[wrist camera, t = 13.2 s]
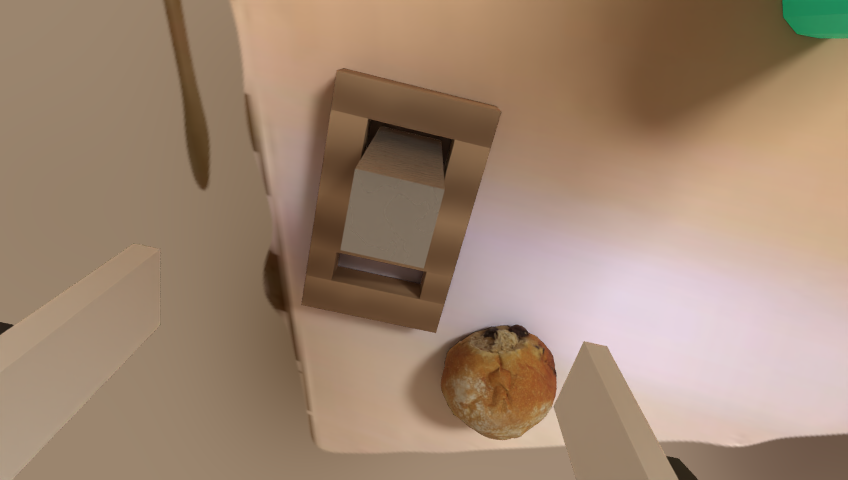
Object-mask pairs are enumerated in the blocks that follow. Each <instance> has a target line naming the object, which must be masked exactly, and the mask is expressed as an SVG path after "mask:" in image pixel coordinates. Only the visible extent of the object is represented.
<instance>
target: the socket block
mask: <svg viewBox="0 0 848 480" xmlns="http://www.w3.org/2000/svg"><path fill="white" fill-rule="evenodd" d="M500 115H501V111H500V110H499V109H498V107H497V106H493V105H489V104H485V103H481V102H477V101H473V100H469V99H465V98H461V97H457V96H453V95H449V94H445V93H441V92H437V91H433V90H429V89H425V88H421V87H417V86H413V85H409V84H405V83H401V82H397V81H393V80H389V79H385V78H381V77H377V76H373V75H369V74H365V73H361V72H357V71H353V70H349V69H345V68H343V69H340V70H337V72H336V79H335V85H334V92H333V99H332V105H331V112H330V118H329V125H328V132H327V138H326V145H325V152H324V158H323V165H322V172H321V178H320V185H319V192H318V198H317V205H316V211H315V218H314V225H313V231H312V238H311V245H310V251H309V258H308V265H307V271H306V278H305V285H304V291H303V298H302V304H301V305H305V306H310V307H314V308H319V309H324V310H329V311H334V312H338V313H343V314H348V315H353V316H357V317H362V318H367V319H372V320H377V321H381V322H386V323H391V324H396V325H400V326H405V327H410V328H415V329H420V330H424V331H429V332H434V333H436V330H437V327H438V324H439V320H440V317H441V314H442V310H443V307H444V303H445V300H446V297H447V293H448V290H449V287H450V283H451V280H452V276H453V273H454V270H455V266H456V263H457V260H458V256H459V253H460V250H461V246H462V243H463V239H464V236H465V233H466V229H467V226H468V223H469V219H470V216H471V212H472V209H473V206H474V202H475V199H476V196H477V192H478V189H479V185H480V182H481V179H482V175H483V172H484V169H485V165H486V162H487V158H488V155H489V152H490V148H491V145H492V142H493V138H494V135H495V132H496V128H497V125H498V121H499V118H500ZM371 120H376V121H380V122H384V123H388V124H392V125H396V126H400V127H404V128H409V129H413V130H417V131H421V132H425V133H429V134H433V135H437V136H442V137H446V138H450V139H452V140H451V144H450V148H449V152H448V156H447V160H446V164H445V167H444V171H443V172H444V186H445V191H444V194H443V198H442V202H441V206H440V209H439V213H438V217H437V221H436V225H435V228H434V232H433V236H432V240H431V243H430V247H429V251H428V255H427V258H426V262H425V266H424V268H419V267H415V266H410V265H406V264H401V263H397V262H392V261H388V260H383V259H378V258H374V257H369V256H365V255H360V254H356V253H351V252H347V251H342V250H341V244H342V238H343V233H344V227H345V222H346V216H347V211H348V205H349V200H350V194H351V189H352V183H353V177H354V172H355V168H356V166H357V165H358V163H359V161H360V160H361V158H362V156H363V155H364V153H365V150H366V145H367V139H368V134H369V129H370V123H371ZM340 253H343V254H347V255H352V256H356V257H361V258H365V259H370V260H375V261H379V262H384V263H388V264H393V265H397V266H402V267H407V268H411V269H416V270H420V271H424V272H423V276H422V279H421V283H420V284H419V283H414V282H409V281H405V280H400V279H396V278H391V277H386V276H382V275H377V274H373V273H368V272H363V271H359V270H354V269H349V268H345V267H340V266H338V261H339V256H340Z"/></svg>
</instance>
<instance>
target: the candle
mask: <svg viewBox="0 0 848 480" xmlns="http://www.w3.org/2000/svg"><path fill="white" fill-rule="evenodd" d="M782 3H783V18H784V19H785V20H786V21H787V23H788V24H789V25H790V26H791V27H792V29H793V30H794V31H795V32H796V34H799V35H804V36H809V37H814V38H848V0H782Z"/></svg>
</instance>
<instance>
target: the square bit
mask: <svg viewBox="0 0 848 480" xmlns="http://www.w3.org/2000/svg"><path fill="white" fill-rule="evenodd" d="M444 191H445V186H444V172H443V158H442V145H441V140H438V139H434V138H430V137H426V136H421V135H417V134H413V133H409V132H405V131H401V130H397V129H392V128H388V127H384V126H380V128H379V130H378V131H377V133H376V135H375V136H374V138H373V140H372V141H371V143H370V145H369V146H368V148H367V150H366V151H365V153H364V155H363V156H362V158H361V160H360V161H359V163H358V165H357V166H356V168H355V172H354V177H353V183H352V189H351V194H350V200H349V205H348V211H347V216H346V222H345V227H344V233H343V238H342V244H341V250H342V251H347V252H351V253H356V254H360V255H365V256H369V257H374V258H378V259H383V260H388V261H392V262H397V263H401V264H406V265H410V266H415V267H419V268H424V266H425V262H426V258H427V255H428V251H429V247H430V243H431V240H432V236H433V232H434V228H435V225H436V221H437V217H438V213H439V209H440V206H441V202H442V198H443V194H444Z"/></svg>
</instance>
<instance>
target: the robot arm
mask: <svg viewBox="0 0 848 480" xmlns="http://www.w3.org/2000/svg"><path fill="white" fill-rule="evenodd" d="M159 326H160V249H158V248H154V247H149V246H145V245H140V244H135V243H134V244H132V245H131V246H129V247H128V248H126V249H125V250H123V251H122V252H121V253H119V254H118V255H116V256H115V257H113V258H112V259H110V260H109V261H107V262H106V263H104V264H103V265H101V266H100V267H99V268H97V269H96V270H94V271H93V272H92V273H90V274H88V275H87V276H85V277H84V278H83V279H81V280H80V281H78V282H77V283H75V284H74V285H72V286H71V287H69V288H68V289H67V290H65V291H64V292H62V293H61V294H60V295H58V296H56V297H55V298H54V299H52V300H50V301H49V302H48V303H46V304H45V305H43V306H42V307H40V308H39V309H37V310H36V311H34V312H33V313H32V314H30V315H29V316H27V317H26V318H24V319H23V320H21V321H20V322H18V323H17V324H16V325H12V324H7V323H2V322H0V480H12V479H14V477H15V476H16V475H17V474H18V473H19V472H20V471H21V470H22V469H23V468H24V467H25V466H26V465H27V464H28V463H29V462H30V461H31V460H32V459H33V458H34V457H35V456H36V454H37V453H38V452H39V451H40V450H41V449H42V448H43V447H44V446H45V445H46V444H47V443H48V442H49V441H50V440H51V439H52V438H53V436H55V435H56V434H57V433H58V432H59V430H60V429H61V428H62V427H63V426H64V425H65V424H66V423H67V422H68V421H69V420H70V419H71V418H72V417H73V416H74V415H75V414H76V413H77V412H78V411H79V410H80V408H81V407H82V406H83V405H84V404H85V403H86V402H87V401H88V400H89V399H90V398H91V397H92V396H93V395H94V394H95V393H96V392H97V391H98V390H99V389H100V388H101V387H102V386H103V384H104V383H105V382H106V381H107V380H108V379H109V378H110V377H111V376H112V375H113V374H114V373H115V372H116V371H117V370H118V369H119V368H120V367H121V365H122V364H123V363H124V362H125V361H126V360H127V359H128V358H129V357H130V356H131V355H132V354H133V353H134V352H135V351H136V350H137V349H138V348H139V347H140V346H141V345H142V344H143V343H144V342H145V340H146V339H147V338H148V337H149V336H150V335H151V334H152V333H153V332H154V331H155V330H156V329H157V328H158V327H159ZM554 409H555V412H556V416H557V419H558V422H559V426H560V429H561V432H562V435H563V439H564V442H565V445H566V448H567V451H568V455H569V458H570V461H571V465H572V468H573V471H574V474H575V478H576V480H697V478H696V477H695V476H694V475H693V474H692V472H691V471H690V470H689V469H688V468H687V467H686V466H685V465H684V464H683V463H682V462H681V461H680V459H678V458H673V457H668V456H666V455H665V454H664V452H663V450H662V448H661V446H660V444H659V442H658V441H657V439H656V437H655V435H654V433H653V431H652V429H651V427H650V426H649V424H648V422H647V420H646V418H645V416H644V414H643V413H642V411H641V409H640V407H639V405H638V403H637V401H636V400H635V398H634V396H633V394H632V392H631V390H630V388H629V387H628V385H627V383H626V381H625V379H624V377H623V375H622V373H621V372H620V370H619V368H618V366H617V364H616V362H615V360H614V359H613V357H612V355H611V353H610V351H609V349H608V347H607V346H603V345H598V344H594V343H589V342H583V344H582V346H581V349H580V351H579V353H578V355H577V357H576V359H575V362H574V364H573V366H572V368H571V370H570V372H569V374H568V377H567V379H566V381H565V383H564V385H563V387H562V390H561V392H560V394H559V396H558V398H557V400H556V402H555V405H554Z"/></svg>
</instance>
